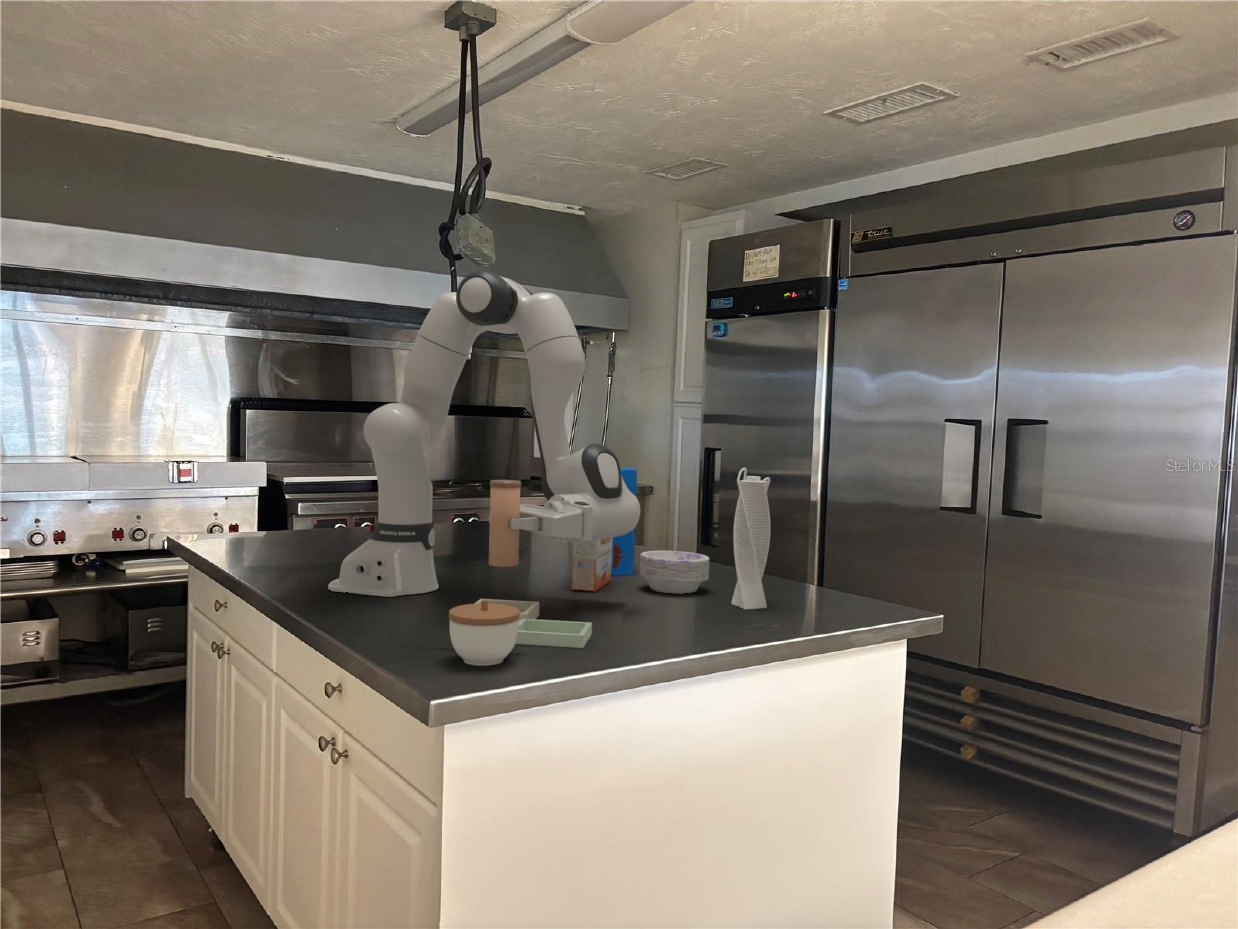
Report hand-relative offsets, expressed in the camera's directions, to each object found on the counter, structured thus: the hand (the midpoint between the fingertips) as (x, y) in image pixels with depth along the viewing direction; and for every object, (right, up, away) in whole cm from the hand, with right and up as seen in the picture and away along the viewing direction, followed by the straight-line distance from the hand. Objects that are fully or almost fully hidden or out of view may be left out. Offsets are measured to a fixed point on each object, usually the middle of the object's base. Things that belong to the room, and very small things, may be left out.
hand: (500, 521), depth 160 cm
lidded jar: (0, -20, -21) cm, 29 cm away
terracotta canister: (0, -8, +1) cm, 8 cm away
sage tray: (+10, -20, -11) cm, 24 cm away
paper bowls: (+33, -18, +38) cm, 54 cm away
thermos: (+19, -16, +58) cm, 63 cm away
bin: (-5, -18, +2) cm, 19 cm away
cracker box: (+15, -17, +40) cm, 46 cm away
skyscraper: (+47, -19, +25) cm, 57 cm away
